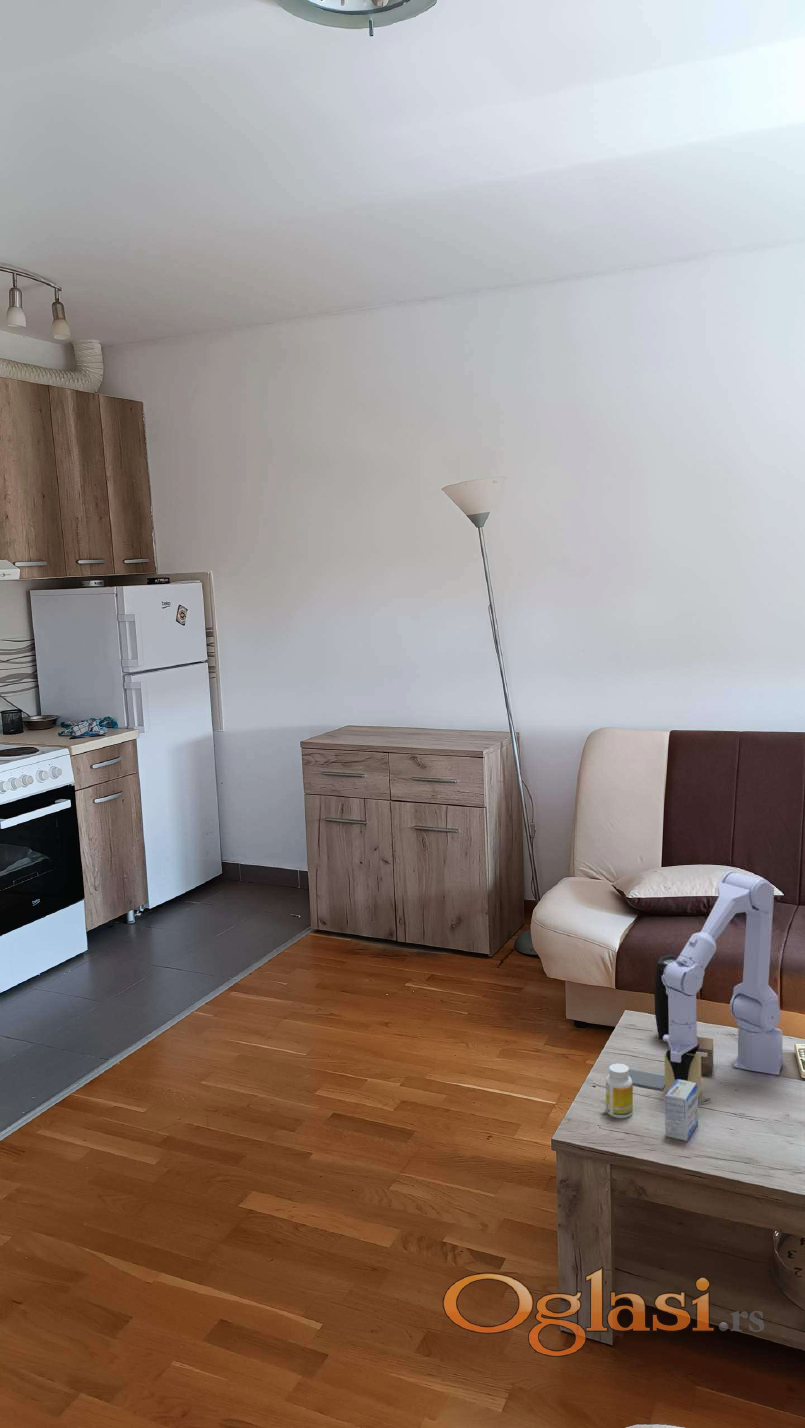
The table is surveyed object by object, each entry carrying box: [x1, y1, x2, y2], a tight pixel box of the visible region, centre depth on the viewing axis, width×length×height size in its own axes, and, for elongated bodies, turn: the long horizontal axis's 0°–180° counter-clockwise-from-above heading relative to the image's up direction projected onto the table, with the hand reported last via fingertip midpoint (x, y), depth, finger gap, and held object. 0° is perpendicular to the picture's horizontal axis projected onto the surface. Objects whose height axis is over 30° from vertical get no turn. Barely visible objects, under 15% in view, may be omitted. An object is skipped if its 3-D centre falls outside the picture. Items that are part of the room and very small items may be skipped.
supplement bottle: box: [605, 1063, 634, 1119], centre depth 202 cm, size 5×5×10 cm
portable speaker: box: [653, 954, 679, 1041], centre depth 234 cm, size 9×9×20 cm
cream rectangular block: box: [664, 1053, 702, 1099], centre depth 210 cm, size 7×3×8 cm, turn 63°
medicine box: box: [664, 1079, 699, 1142], centre depth 194 cm, size 8×4×9 cm, turn 148°
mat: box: [629, 1068, 665, 1092], centre depth 215 cm, size 9×6×1 cm, turn 63°
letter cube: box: [695, 1036, 714, 1077], centre depth 220 cm, size 6×6×6 cm
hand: (683, 1080), depth 210 cm, fingers closed on cream rectangular block, 3 cm apart
